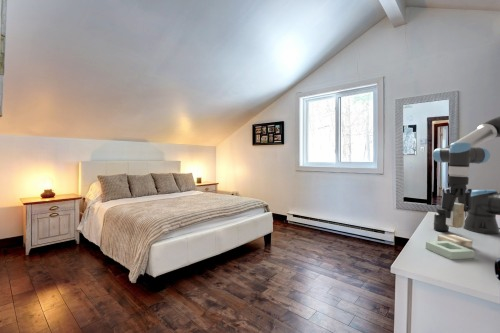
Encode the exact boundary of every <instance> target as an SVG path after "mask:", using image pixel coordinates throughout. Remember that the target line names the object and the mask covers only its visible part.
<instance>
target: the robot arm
mask: <svg viewBox="0 0 500 333" xmlns="http://www.w3.org/2000/svg"><path fill="white" fill-rule="evenodd" d="M496 138H500V116H496V117H494V118H492V119H489V120H487V121H485V122H483V123H482V124H480V125H478V126H477V127H476V129H475V130H473V131H471V132H470V133H468V134H466V135H465V136H463V137H461V138H460V139H458V140H456V141H455V142H452V143H450V144H449V145H447V146H446V147H437V148H435V149H434V150H433V153H432V158H433V160H434V161H435V162H436V163H437V162H438V163H448V171H447V172H448V176H447V184H448V187H447V188H442V203H441V209H443V210H445V211H446V216H445V217H446V224H447V225H450V226H453V212H452V209H453V206H454V203H456V200H457V201H458V202H457V203H461V204H464V215H463V227H462V228H463V229H464V230H468V231H472V232H475V233H481V234H488V235H489V234H491V235H498V234H500V227H499V224H498V221H497V217H496V216H500V192H498V190H497V189H472V188H467V185H469V178H470V177H469V175H470V164H477V165H478V164H484V163H487V162H488V161H489V160H490V158H491V154H490V151H489V150H488V149H487V148H484V147H478V146H480V145H481V144H483V143H485V142H486V141H490V140H491V141H492V140H493V139H496ZM450 226H449V227H450Z"/></svg>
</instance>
